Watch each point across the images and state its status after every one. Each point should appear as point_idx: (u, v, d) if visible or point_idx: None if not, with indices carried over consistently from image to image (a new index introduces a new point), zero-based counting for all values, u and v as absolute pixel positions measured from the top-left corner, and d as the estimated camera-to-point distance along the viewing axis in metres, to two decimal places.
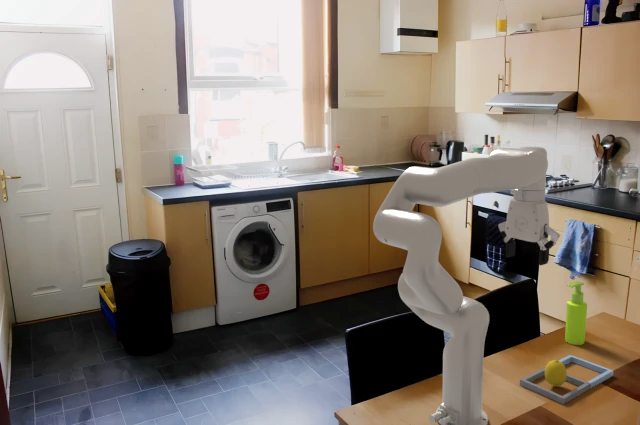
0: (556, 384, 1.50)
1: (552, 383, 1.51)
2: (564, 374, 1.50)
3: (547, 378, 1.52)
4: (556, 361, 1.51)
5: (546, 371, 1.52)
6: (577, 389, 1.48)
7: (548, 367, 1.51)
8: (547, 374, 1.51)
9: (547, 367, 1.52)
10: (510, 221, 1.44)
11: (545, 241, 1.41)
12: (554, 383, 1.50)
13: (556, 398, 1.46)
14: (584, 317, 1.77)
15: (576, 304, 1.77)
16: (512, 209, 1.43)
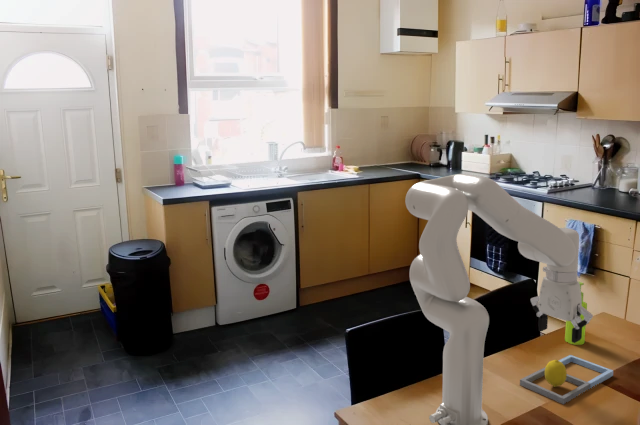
0: (556, 384, 1.50)
1: (552, 383, 1.51)
2: (564, 374, 1.50)
3: (547, 378, 1.52)
4: (556, 361, 1.51)
5: (546, 371, 1.52)
6: (577, 389, 1.48)
7: (548, 367, 1.51)
8: (547, 374, 1.51)
9: (547, 367, 1.52)
10: (543, 298, 1.49)
11: (578, 319, 1.46)
12: (554, 383, 1.50)
13: (556, 398, 1.46)
14: None
15: None
16: (545, 287, 1.48)
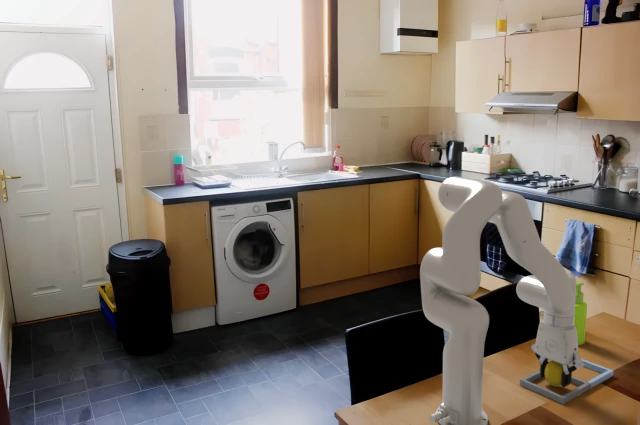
0: (556, 384, 1.50)
1: (552, 383, 1.51)
2: None
3: (547, 378, 1.52)
4: None
5: (546, 371, 1.52)
6: (577, 389, 1.48)
7: (548, 367, 1.51)
8: (547, 374, 1.51)
9: (547, 367, 1.52)
10: (540, 341, 1.52)
11: (569, 364, 1.49)
12: (554, 383, 1.50)
13: (556, 398, 1.46)
14: (584, 317, 1.77)
15: (576, 304, 1.77)
16: (542, 330, 1.51)
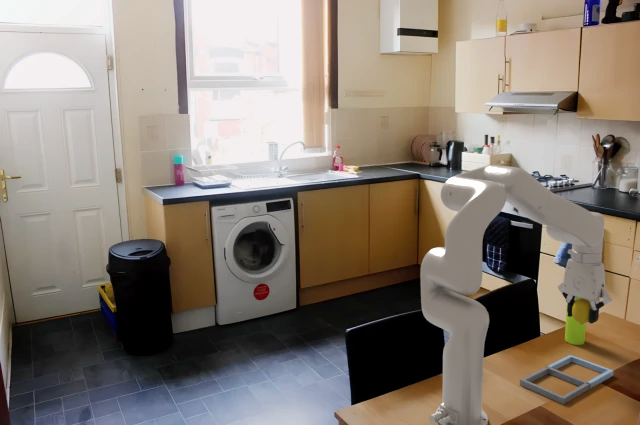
0: (583, 321, 1.54)
1: (580, 320, 1.55)
2: None
3: (575, 315, 1.55)
4: (583, 299, 1.55)
5: (574, 309, 1.56)
6: (577, 389, 1.48)
7: (575, 304, 1.55)
8: (575, 311, 1.55)
9: (575, 305, 1.56)
10: (567, 279, 1.56)
11: (597, 301, 1.53)
12: (582, 319, 1.54)
13: (556, 398, 1.46)
14: None
15: None
16: (570, 269, 1.55)
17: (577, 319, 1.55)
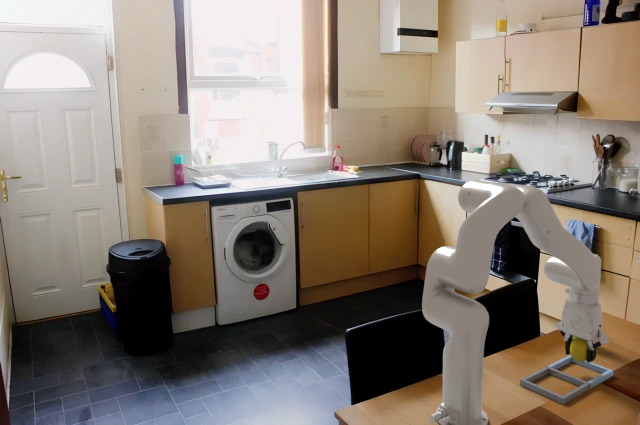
0: (581, 360, 1.57)
1: (577, 359, 1.57)
2: None
3: (572, 354, 1.58)
4: None
5: (571, 347, 1.58)
6: (577, 389, 1.48)
7: (573, 343, 1.58)
8: (572, 350, 1.57)
9: (572, 343, 1.58)
10: (565, 318, 1.58)
11: (594, 340, 1.55)
12: (579, 358, 1.57)
13: (556, 398, 1.46)
14: None
15: None
16: (567, 308, 1.57)
17: (575, 358, 1.57)
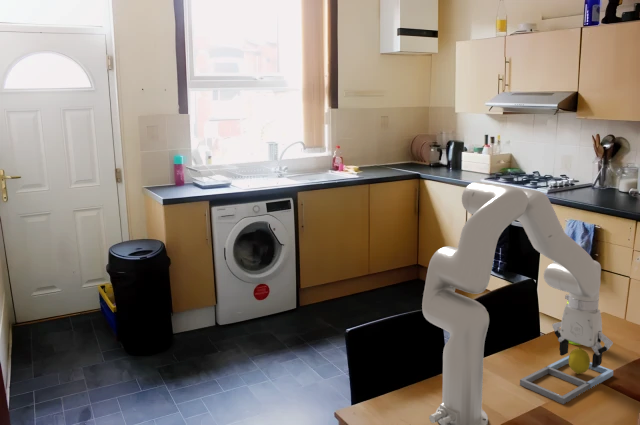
0: (580, 371, 1.57)
1: (576, 370, 1.58)
2: (588, 362, 1.57)
3: (571, 365, 1.58)
4: (580, 349, 1.58)
5: (570, 359, 1.58)
6: (577, 389, 1.48)
7: (572, 355, 1.58)
8: (571, 361, 1.58)
9: (571, 355, 1.58)
10: (565, 324, 1.58)
11: (598, 345, 1.55)
12: (578, 370, 1.57)
13: (556, 398, 1.46)
14: None
15: None
16: (567, 314, 1.57)
17: (573, 369, 1.58)
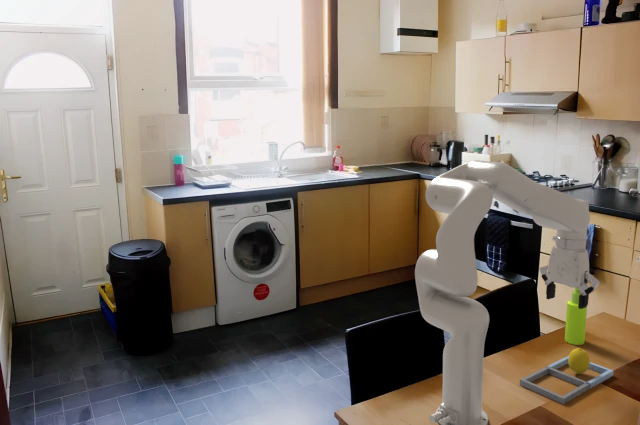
0: (580, 371, 1.57)
1: (576, 370, 1.58)
2: (587, 361, 1.57)
3: (571, 365, 1.58)
4: (579, 349, 1.58)
5: (570, 359, 1.58)
6: (577, 389, 1.48)
7: (571, 355, 1.58)
8: (571, 362, 1.58)
9: (571, 355, 1.58)
10: (552, 266, 1.55)
11: (585, 286, 1.52)
12: (578, 370, 1.57)
13: (556, 398, 1.46)
14: (584, 317, 1.77)
15: (576, 304, 1.77)
16: (554, 255, 1.54)
17: (573, 369, 1.58)
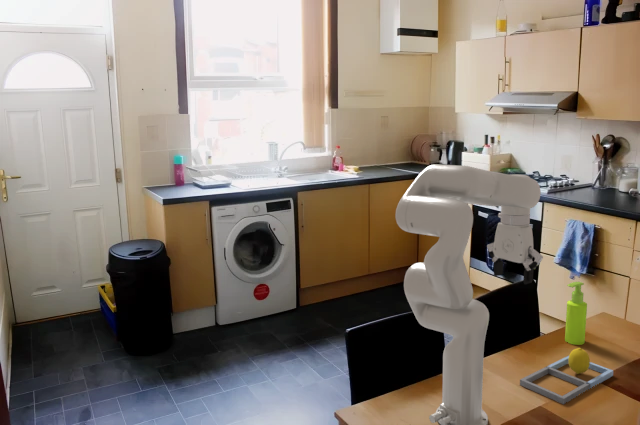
0: (580, 371, 1.57)
1: (576, 370, 1.58)
2: (587, 361, 1.57)
3: (571, 365, 1.58)
4: (580, 349, 1.58)
5: (570, 359, 1.59)
6: (577, 389, 1.48)
7: (571, 355, 1.58)
8: (571, 361, 1.58)
9: (571, 355, 1.58)
10: (497, 242, 1.56)
11: (530, 262, 1.52)
12: (578, 370, 1.57)
13: (556, 398, 1.46)
14: (584, 317, 1.77)
15: (576, 304, 1.77)
16: (499, 232, 1.55)
17: (573, 369, 1.58)
